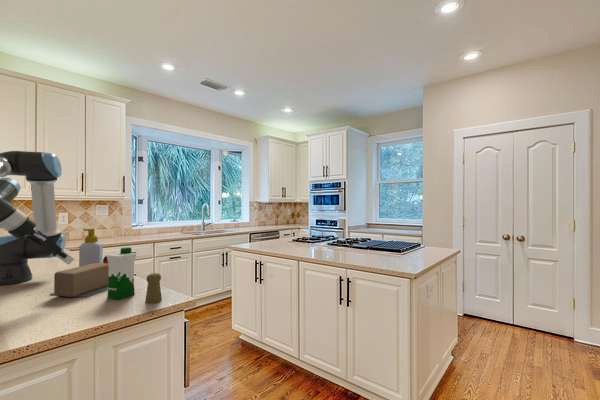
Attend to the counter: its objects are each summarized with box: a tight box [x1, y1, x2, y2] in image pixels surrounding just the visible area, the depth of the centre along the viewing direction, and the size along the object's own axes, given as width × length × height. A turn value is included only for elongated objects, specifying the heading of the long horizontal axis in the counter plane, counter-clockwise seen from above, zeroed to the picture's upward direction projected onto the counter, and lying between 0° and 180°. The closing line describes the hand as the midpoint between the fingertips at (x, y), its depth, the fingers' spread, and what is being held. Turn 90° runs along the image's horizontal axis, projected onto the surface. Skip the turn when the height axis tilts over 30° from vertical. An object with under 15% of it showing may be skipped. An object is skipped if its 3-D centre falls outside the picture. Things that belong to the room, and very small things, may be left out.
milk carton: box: [106, 247, 137, 301], centre depth 123 cm, size 9×9×20 cm
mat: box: [49, 286, 108, 298], centre depth 132 cm, size 18×18×1 cm
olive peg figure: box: [144, 272, 163, 305], centre depth 117 cm, size 6×6×11 cm
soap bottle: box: [78, 228, 104, 267], centre depth 155 cm, size 9×9×25 cm
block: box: [53, 263, 109, 298], centre depth 130 cm, size 10×10×20 cm
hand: (70, 261), depth 121 cm, fingers closed
